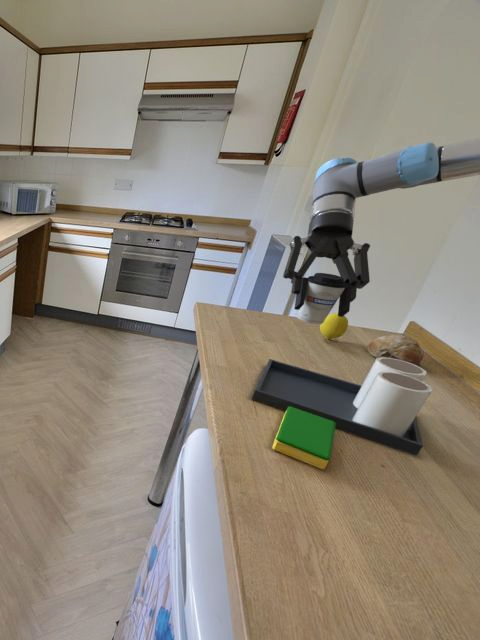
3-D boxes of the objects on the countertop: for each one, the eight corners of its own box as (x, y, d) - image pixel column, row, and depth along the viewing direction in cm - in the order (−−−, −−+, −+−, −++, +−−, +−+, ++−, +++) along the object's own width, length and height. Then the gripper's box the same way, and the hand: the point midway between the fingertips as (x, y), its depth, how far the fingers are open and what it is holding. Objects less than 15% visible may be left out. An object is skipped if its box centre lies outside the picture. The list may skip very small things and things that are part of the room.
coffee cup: (290, 311, 95) (308, 269, 90) (328, 319, 91) (348, 276, 87) (290, 320, 89) (309, 276, 85) (331, 328, 86) (352, 283, 82)
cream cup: (398, 409, 81) (425, 365, 77) (400, 425, 76) (429, 379, 72) (352, 396, 85) (375, 353, 81) (352, 409, 81) (376, 365, 76)
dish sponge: (271, 449, 69) (276, 437, 68) (284, 415, 79) (288, 405, 78) (323, 470, 65) (330, 458, 64) (330, 432, 74) (336, 421, 73)
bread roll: (359, 366, 107) (371, 345, 102) (367, 341, 112) (380, 320, 106) (411, 381, 101) (427, 359, 96) (417, 354, 106) (434, 332, 100)
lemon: (322, 342, 112) (335, 315, 108) (310, 334, 117) (322, 308, 113) (345, 344, 111) (358, 317, 108) (332, 336, 116) (344, 310, 113)
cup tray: (407, 409, 83) (412, 400, 82) (416, 456, 69) (423, 446, 68) (266, 366, 97) (269, 358, 96) (251, 399, 84) (255, 389, 83)
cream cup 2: (401, 427, 76) (430, 381, 71) (404, 445, 71) (435, 396, 67) (352, 412, 80) (376, 367, 76) (352, 427, 75) (378, 380, 71)
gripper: (376, 236, 92) (370, 327, 85) (272, 226, 99) (259, 309, 93) (398, 214, 85) (393, 311, 79) (285, 205, 93) (272, 293, 86)
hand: (321, 310), depth 86 cm, fingers closed on coffee cup, 7 cm apart
